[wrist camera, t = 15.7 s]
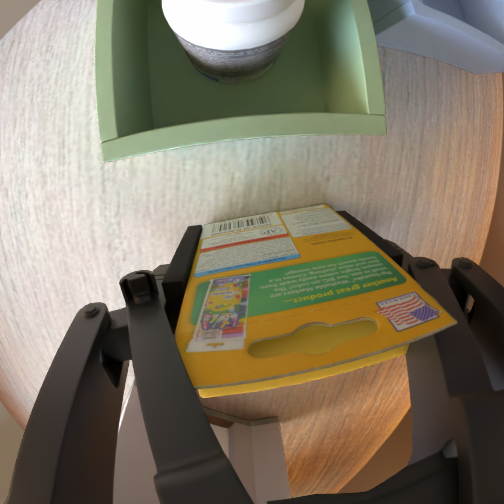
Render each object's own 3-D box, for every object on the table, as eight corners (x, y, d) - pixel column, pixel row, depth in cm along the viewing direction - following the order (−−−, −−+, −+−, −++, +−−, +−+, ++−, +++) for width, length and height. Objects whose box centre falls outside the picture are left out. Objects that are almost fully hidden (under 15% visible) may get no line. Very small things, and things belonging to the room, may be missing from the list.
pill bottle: (294, 64, 12) (359, -5, 4) (212, 100, 13) (184, 50, 5) (253, -1, 10) (272, -98, 3) (173, 33, 11) (121, -51, 3)
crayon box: (213, 270, 17) (193, 448, 6) (202, 224, 16) (150, 385, 5) (330, 249, 17) (434, 392, 6) (326, 202, 16) (462, 317, 5)
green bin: (138, -2, 10) (104, -47, 5) (313, -18, 10) (344, -67, 5) (147, 154, 14) (102, 163, 9) (336, 134, 14) (387, 135, 9)
